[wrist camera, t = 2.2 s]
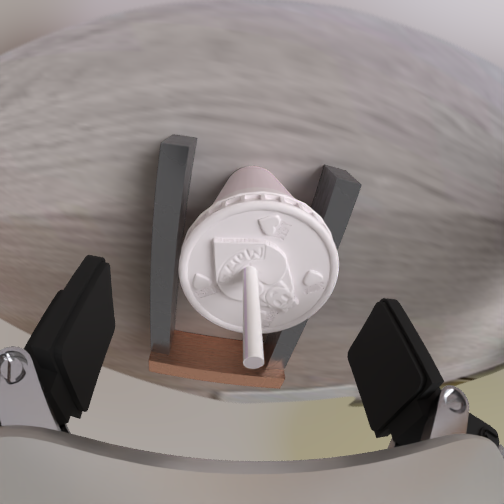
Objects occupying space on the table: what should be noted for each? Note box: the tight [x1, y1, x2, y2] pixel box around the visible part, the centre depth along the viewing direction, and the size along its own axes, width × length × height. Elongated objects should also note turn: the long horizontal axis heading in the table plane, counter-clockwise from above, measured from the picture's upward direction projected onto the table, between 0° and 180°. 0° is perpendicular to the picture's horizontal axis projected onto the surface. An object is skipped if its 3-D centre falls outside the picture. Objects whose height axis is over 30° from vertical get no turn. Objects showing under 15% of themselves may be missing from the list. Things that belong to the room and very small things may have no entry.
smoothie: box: [178, 166, 339, 369], centre depth 14 cm, size 6×6×14 cm
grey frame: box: [149, 135, 361, 388], centre depth 21 cm, size 12×19×4 cm, turn 168°
